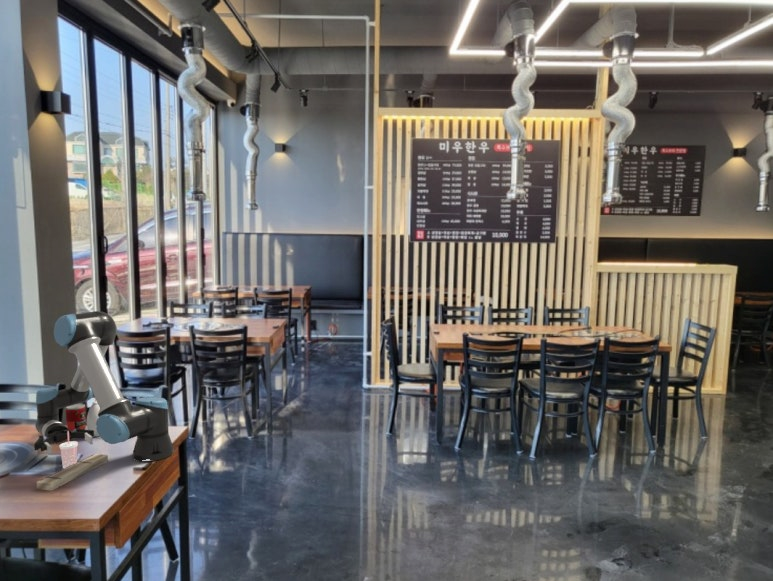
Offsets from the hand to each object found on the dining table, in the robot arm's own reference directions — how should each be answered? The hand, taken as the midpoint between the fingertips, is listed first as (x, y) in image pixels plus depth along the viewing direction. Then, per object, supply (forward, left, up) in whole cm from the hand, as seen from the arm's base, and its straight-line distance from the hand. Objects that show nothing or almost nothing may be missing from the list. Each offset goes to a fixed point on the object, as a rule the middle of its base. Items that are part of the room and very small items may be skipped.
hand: (71, 445), depth 197 cm
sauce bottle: (+19, -33, -10) cm, 39 cm away
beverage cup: (+3, -2, -10) cm, 10 cm away
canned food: (+35, -38, -10) cm, 52 cm away
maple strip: (-4, +3, -9) cm, 11 cm away
